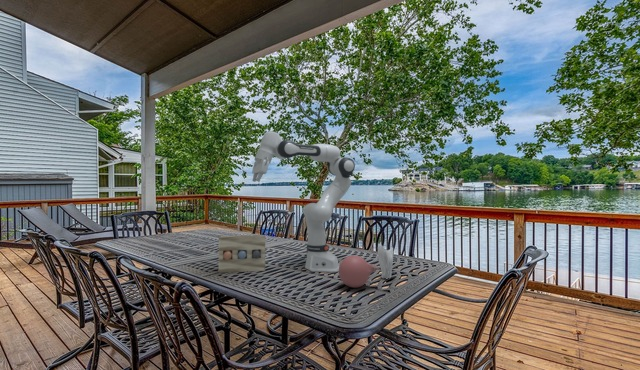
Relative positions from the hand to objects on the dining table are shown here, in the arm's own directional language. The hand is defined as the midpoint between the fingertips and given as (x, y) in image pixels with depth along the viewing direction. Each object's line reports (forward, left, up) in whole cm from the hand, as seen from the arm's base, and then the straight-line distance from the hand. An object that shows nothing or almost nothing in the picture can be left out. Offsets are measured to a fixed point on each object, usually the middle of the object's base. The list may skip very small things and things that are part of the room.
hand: (255, 181), depth 169 cm
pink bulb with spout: (-59, +4, -52) cm, 79 cm away
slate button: (+9, -2, -44) cm, 45 cm away
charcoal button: (+2, -6, -44) cm, 45 cm away
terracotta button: (+17, +1, -44) cm, 47 cm away
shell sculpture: (-71, -15, -52) cm, 89 cm away
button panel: (+13, -9, -52) cm, 54 cm away
